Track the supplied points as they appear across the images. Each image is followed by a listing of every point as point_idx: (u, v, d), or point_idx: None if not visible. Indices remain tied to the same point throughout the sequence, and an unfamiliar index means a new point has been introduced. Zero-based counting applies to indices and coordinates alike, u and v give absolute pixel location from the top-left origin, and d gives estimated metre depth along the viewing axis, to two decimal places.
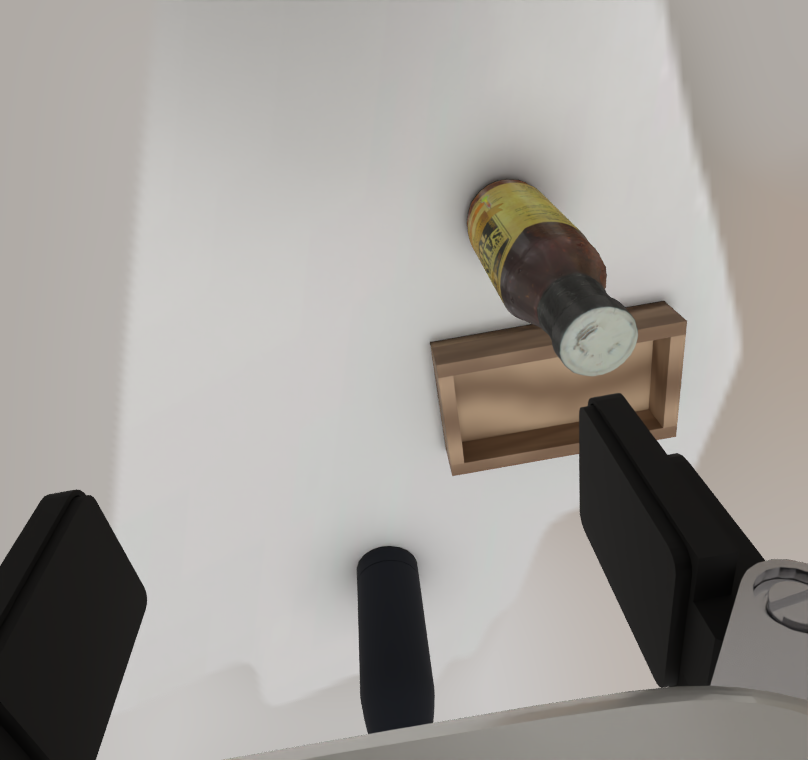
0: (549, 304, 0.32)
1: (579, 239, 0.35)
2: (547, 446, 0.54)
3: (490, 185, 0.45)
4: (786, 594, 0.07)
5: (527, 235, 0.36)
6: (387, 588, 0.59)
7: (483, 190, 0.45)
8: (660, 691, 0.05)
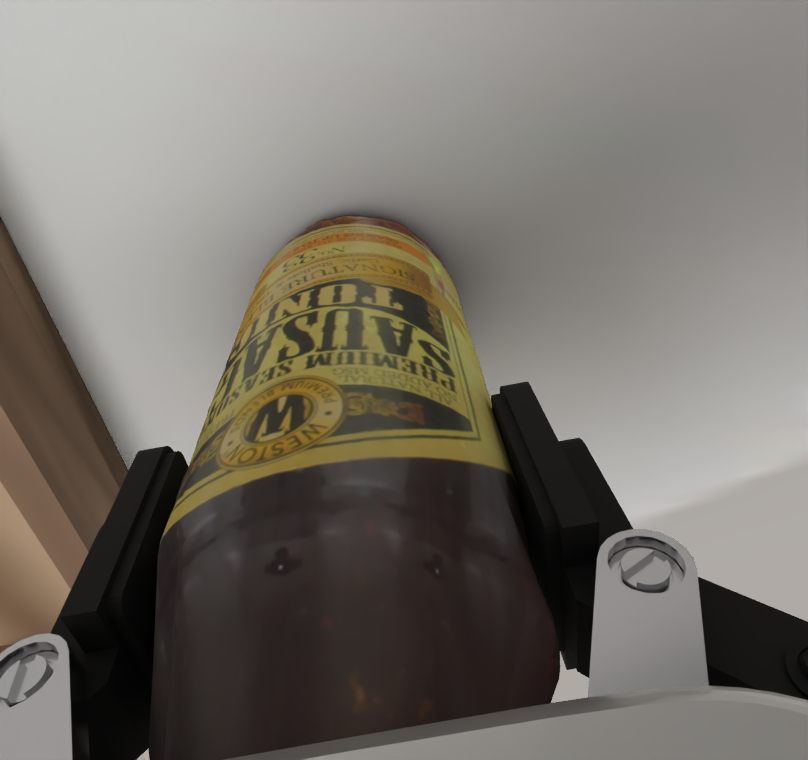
0: None
1: None
2: None
3: (443, 266, 0.18)
4: (635, 561, 0.08)
5: (510, 504, 0.10)
6: None
7: (430, 250, 0.18)
8: (660, 691, 0.05)
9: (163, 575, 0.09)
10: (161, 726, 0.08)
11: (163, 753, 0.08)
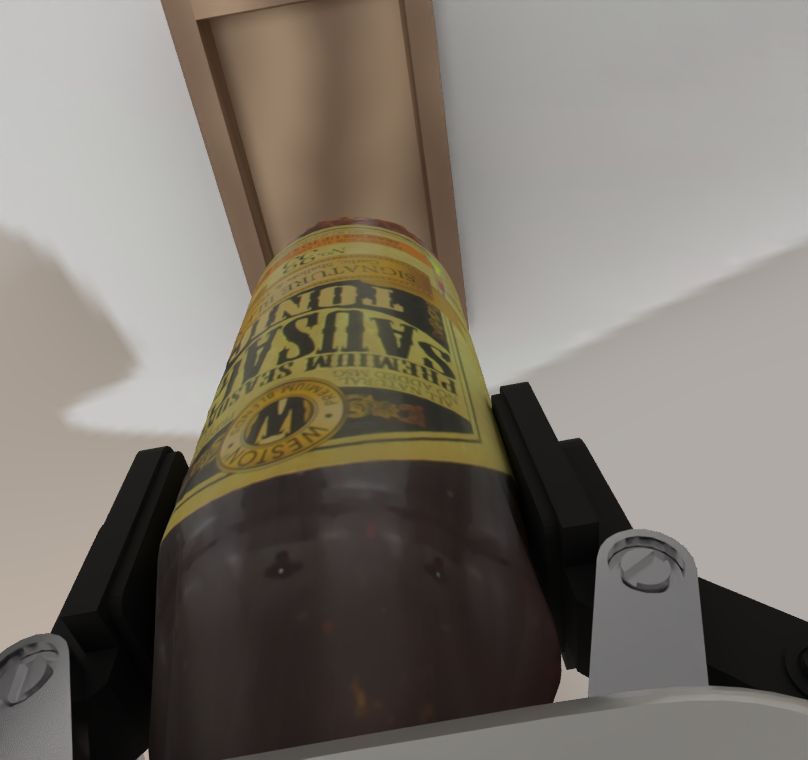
0: None
1: None
2: (246, 192, 0.30)
3: None
4: (635, 561, 0.08)
5: (511, 506, 0.10)
6: None
7: (430, 251, 0.18)
8: (660, 691, 0.05)
9: (163, 578, 0.09)
10: (161, 730, 0.08)
11: (163, 757, 0.08)
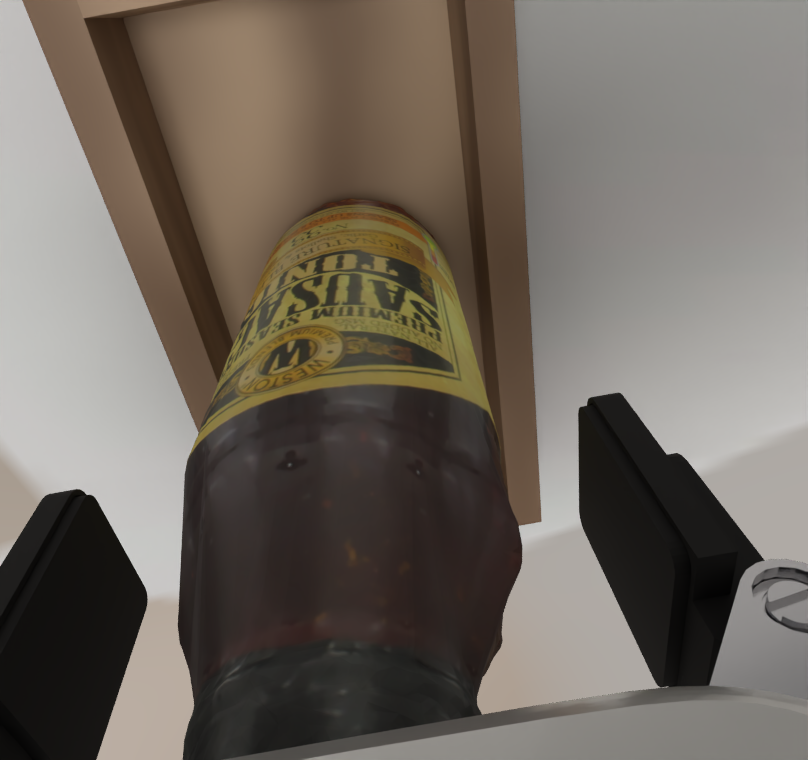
0: None
1: None
2: (191, 301, 0.19)
3: None
4: (785, 594, 0.07)
5: (485, 434, 0.11)
6: None
7: (426, 231, 0.20)
8: (660, 691, 0.05)
9: (190, 485, 0.10)
10: (189, 604, 0.10)
11: (191, 624, 0.09)
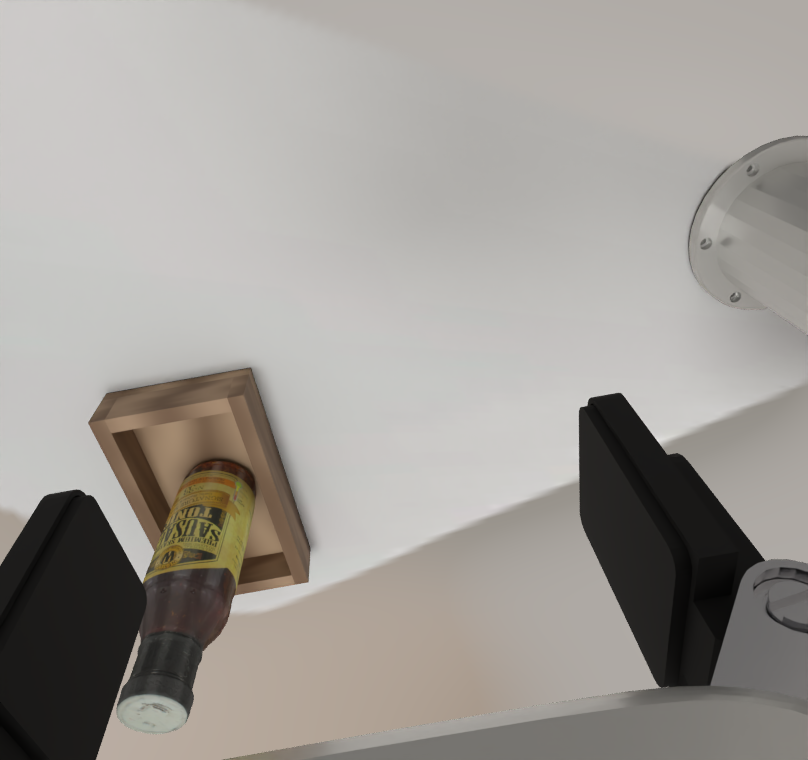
0: (173, 648, 0.37)
1: None
2: (149, 505, 0.49)
3: (249, 477, 0.51)
4: (786, 594, 0.07)
5: (222, 576, 0.42)
6: None
7: (244, 472, 0.50)
8: (660, 691, 0.05)
9: None
10: (141, 623, 0.40)
11: (141, 627, 0.40)
